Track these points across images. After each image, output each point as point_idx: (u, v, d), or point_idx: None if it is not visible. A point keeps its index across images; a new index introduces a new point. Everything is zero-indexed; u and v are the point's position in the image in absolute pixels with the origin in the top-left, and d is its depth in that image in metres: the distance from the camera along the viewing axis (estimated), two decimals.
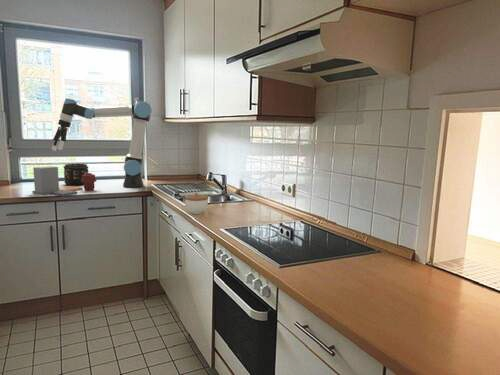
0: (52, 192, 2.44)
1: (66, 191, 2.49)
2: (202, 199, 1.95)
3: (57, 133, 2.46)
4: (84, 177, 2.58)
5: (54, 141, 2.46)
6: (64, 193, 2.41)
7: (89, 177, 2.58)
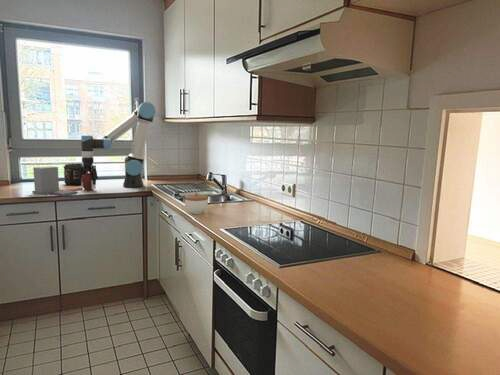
0: (52, 192, 2.44)
1: (66, 191, 2.49)
2: (202, 199, 1.95)
3: None
4: (84, 177, 2.58)
5: None
6: (64, 193, 2.41)
7: (89, 177, 2.59)
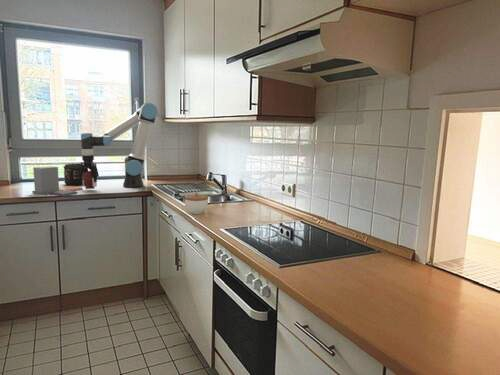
0: (52, 192, 2.44)
1: (66, 191, 2.49)
2: (202, 199, 1.95)
3: None
4: (85, 175, 2.58)
5: None
6: (64, 193, 2.41)
7: (90, 175, 2.58)
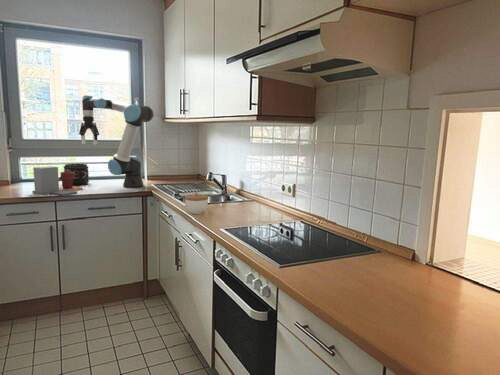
0: (52, 192, 2.44)
1: (66, 191, 2.49)
2: (202, 199, 1.95)
3: None
4: (62, 174, 2.57)
5: None
6: (64, 193, 2.41)
7: (67, 174, 2.57)
